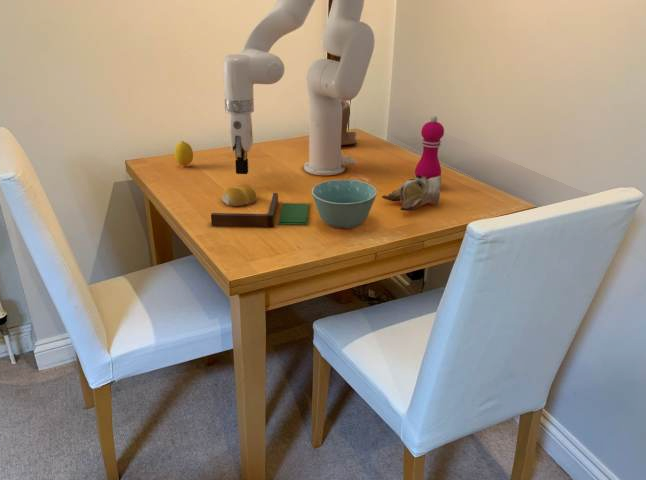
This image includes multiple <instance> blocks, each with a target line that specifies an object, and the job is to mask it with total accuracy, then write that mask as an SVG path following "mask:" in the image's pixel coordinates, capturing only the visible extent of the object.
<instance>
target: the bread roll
mask: <svg viewBox="0 0 646 480" xmlns="http://www.w3.org/2000/svg"><path fill="white" fill-rule="evenodd" d="M256 200H257V193H256V190H255V189H254V188H253V187H251V186H248V185H242V186H236V187H228V188H226V189H224V190H223V192H222V195H221V201H222V202H223V203H224V204H225V205H227V206H230V207H241V206H245V205H251V204H254V203H255V202H256Z"/></svg>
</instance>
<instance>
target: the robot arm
mask: <svg viewBox="0 0 646 480" xmlns="http://www.w3.org/2000/svg"><path fill="white" fill-rule="evenodd" d="M315 2H316V0H276V2H275V4H274V5H273V7H272V9H271V10H270V11H269V12H268V13H267V14H265V15H264V16H263V18H261V20H260V21H259V22H257V24H256V25H255V26H254V27H253V29H252V30H251V31H250V33H249V34H248V36H247V38H246V40H245V42H244V45H243V46H242V49H241V50H240V53H233V54H227V55H225V56H224V57H223V58H222V75H223V76H222V78H223V93H224V94H223V96H224V110H225V111H224V112H225V113H226V114H228V115H229V141H230V149H231V151H233V152H234V154H235V156H234V157H235V161H234V162H235V174H236V175H248V173H249V158H248V153H249V152H250V151H251V149H252V147H253V144H254V134H253V121H252V113H255V102H254V101H255V100H254V99H255V98H254V85H273V84H276V83H278V82H279V81H280V80H281V79H282V78H283V77H284V75H285V64H284V62H283V60H282V59H281V58H280V57H279V56H278V55H276V54H274V53H270V50H271V49H272V47H273V46H274V45H275V44H276V42H278V41H279V39H281V38H283V37H284V36H286V35H288V34H290V33H292V32H295V31H296V30H298V29H300V28H301V27H302V26H303V25H304V24H305V22H306V20H307V18H308V16H309V14H310V12H311V10H312V7H313V5H314V4H315ZM364 4H365V0H332V2H331V7H330V11H329V14H328V17H327V20H326V24H325V27H324V31H323V35H322V39H321V44H322V48H323V49H324V51H325V52H326V53H328V54H330V55H332V56H335V57H340V59H339V60H333V59H329V58H319V59H317V60H314V61H313V62H312V63H311V64H310V65H309V67H308V69H307V71H306V87H307V93H308V102H309V103H308V104H309V117H308V118H309V120H308V121H309V128H308V129H309V132H308V138H309V139H308V161H306V162H305V163H304V164H303V170H304V171H305V172H306V173H308V174H311V175H315V176H324V177H327V176H336V175H339V174H342V173H344V172H345V171H346V165H347V166H356V160H357V159H356V158H352V156H344V155H342V154H343V153H342V145H341V130H342V105H341V100H343V101H346V102H347V101H348V102H349V101H353V99H355V98H356V97H357V96H358V94H359V93H360V92H361V89H362V87H363V85H364V81H365V78H366V75H367V72H368V69H369V66H370V63H371V60H372V57H373V53H374V49H375V33H374V31H373V29H372V27H371V26H370V25H369V24H368V23H365V22H364V21H361V18H362V13H363V9H364Z"/></svg>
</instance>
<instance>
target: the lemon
mask: <svg viewBox="0 0 646 480" xmlns="http://www.w3.org/2000/svg"><path fill="white" fill-rule="evenodd" d="M173 155H174V158H175V161H176V162H177V164H179V165H181V166H183V167H184V168H186V167H187V166H188V165H190V164H191V163H192V162H193V160H194V152H193V148H192V146H191V145H190V144H189V143H188V142H186V141H184V140H181V141H180V142H178V143H177V144H176V145H175V147H174V154H173Z"/></svg>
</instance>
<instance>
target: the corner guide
mask: <svg viewBox="0 0 646 480" xmlns="http://www.w3.org/2000/svg"><path fill="white" fill-rule="evenodd" d="M278 206H279V193H278V192H273V193H272V196H271V201H270V206H269V209H268V212H267V213H240V212H239V213H237V212H236V213H235V212H234V213H233V212H231V213H230V212H225V213H224V212H211V214H210V220H211V221H210V222H211V227H232V228H233V227H235V228H236V227H237V228H274V225H275V219H276V216H277V210H278Z"/></svg>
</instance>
